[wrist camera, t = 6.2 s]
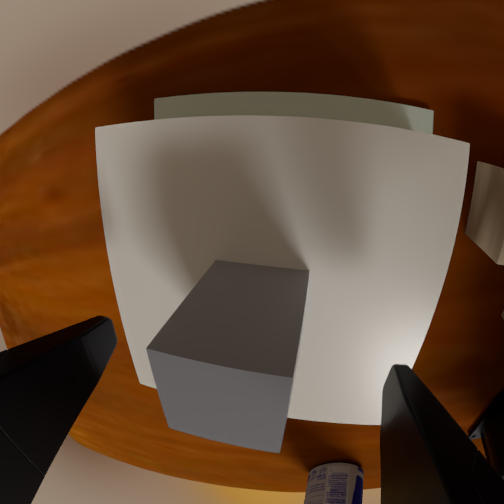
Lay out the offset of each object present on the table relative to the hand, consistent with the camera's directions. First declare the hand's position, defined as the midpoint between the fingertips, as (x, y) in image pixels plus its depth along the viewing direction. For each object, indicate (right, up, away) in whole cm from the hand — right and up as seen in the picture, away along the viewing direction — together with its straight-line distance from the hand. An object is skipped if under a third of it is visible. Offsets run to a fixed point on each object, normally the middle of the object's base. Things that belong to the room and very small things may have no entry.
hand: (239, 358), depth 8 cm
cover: (+2, +3, +8) cm, 9 cm away
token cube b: (+14, +5, +4) cm, 15 cm away
